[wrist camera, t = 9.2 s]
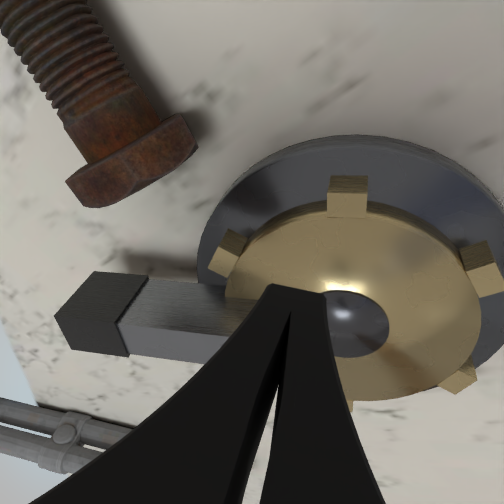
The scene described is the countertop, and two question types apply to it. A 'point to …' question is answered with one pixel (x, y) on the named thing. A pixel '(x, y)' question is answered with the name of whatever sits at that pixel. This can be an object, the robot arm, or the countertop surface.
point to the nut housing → (379, 190)
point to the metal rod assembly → (54, 436)
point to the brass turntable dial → (316, 280)
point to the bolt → (94, 100)
